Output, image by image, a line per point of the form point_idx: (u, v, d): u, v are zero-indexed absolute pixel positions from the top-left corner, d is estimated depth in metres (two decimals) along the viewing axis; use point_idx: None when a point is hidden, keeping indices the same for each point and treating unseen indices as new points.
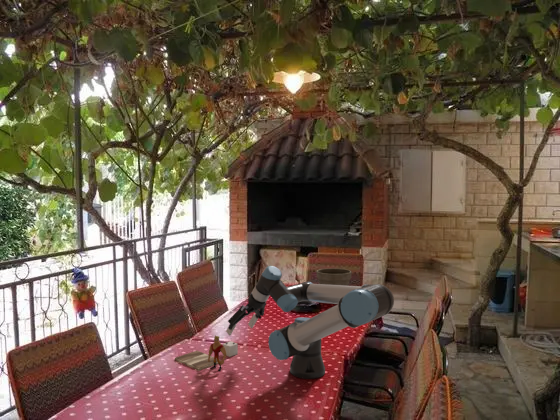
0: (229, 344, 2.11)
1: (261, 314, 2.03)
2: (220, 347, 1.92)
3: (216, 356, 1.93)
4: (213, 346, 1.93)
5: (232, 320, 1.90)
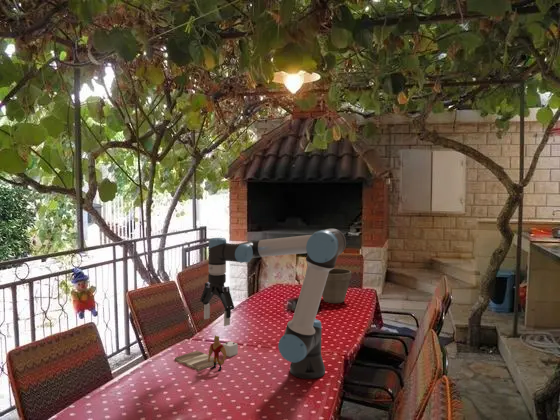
0: (229, 344, 2.11)
1: None
2: (220, 347, 1.92)
3: (216, 356, 1.93)
4: (213, 346, 1.93)
5: (231, 304, 1.87)
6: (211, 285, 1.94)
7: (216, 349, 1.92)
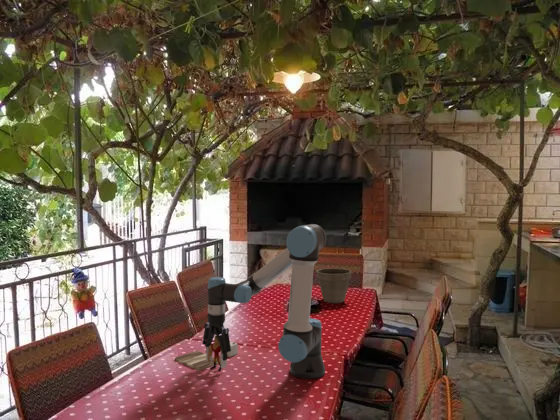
0: None
1: None
2: (220, 347, 1.93)
3: (216, 356, 1.93)
4: (213, 346, 1.93)
5: (228, 347, 1.89)
6: (210, 324, 1.94)
7: (216, 349, 1.92)
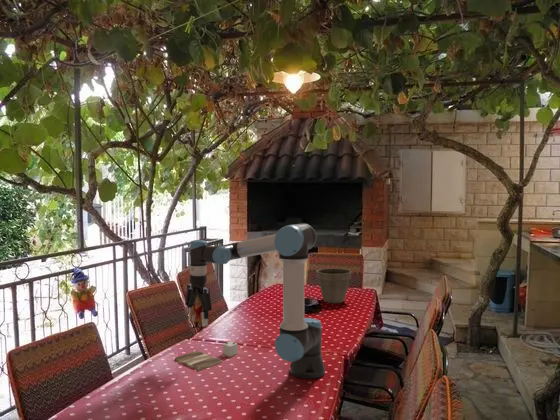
0: (229, 344, 2.11)
1: None
2: (201, 307, 2.00)
3: (198, 316, 2.01)
4: (195, 306, 2.01)
5: (209, 306, 1.97)
6: (192, 285, 2.02)
7: (198, 309, 2.00)
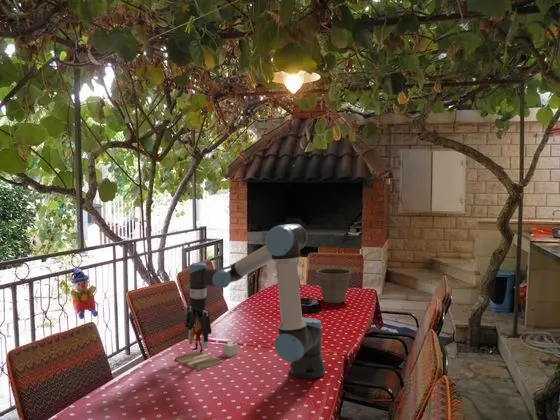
0: (229, 344, 2.11)
1: None
2: (201, 329, 2.01)
3: (198, 338, 2.02)
4: (195, 328, 2.02)
5: (209, 329, 1.97)
6: (192, 308, 2.03)
7: (197, 331, 2.01)
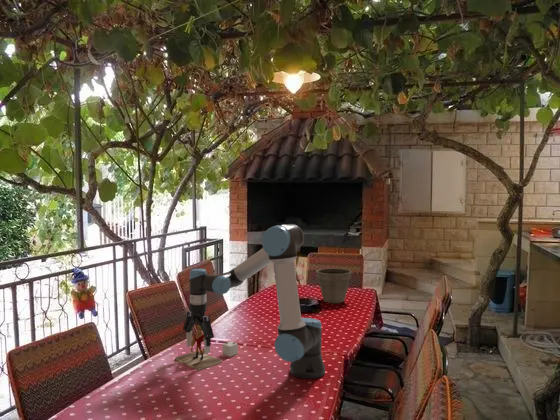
0: (229, 344, 2.11)
1: None
2: (202, 336, 2.02)
3: (198, 345, 2.03)
4: (196, 336, 2.03)
5: (211, 333, 1.96)
6: (192, 314, 2.03)
7: (198, 338, 2.02)
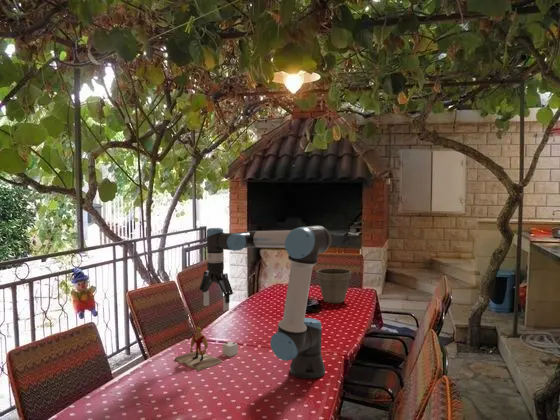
0: (229, 344, 2.11)
1: None
2: (201, 338, 2.01)
3: (198, 347, 2.02)
4: (195, 337, 2.02)
5: (230, 289, 1.98)
6: (210, 273, 2.04)
7: (198, 340, 2.01)
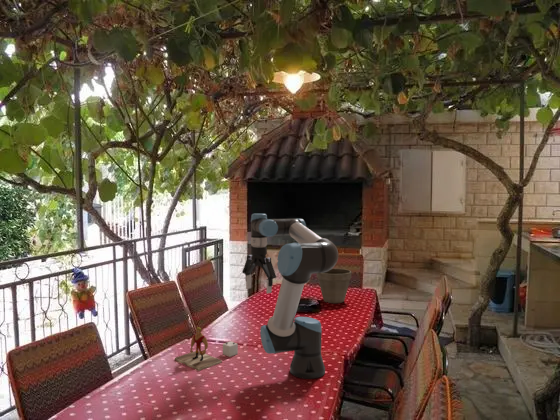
0: (229, 344, 2.11)
1: None
2: (201, 338, 2.01)
3: (198, 346, 2.02)
4: (195, 337, 2.02)
5: (273, 273, 2.04)
6: (253, 257, 2.11)
7: (198, 340, 2.01)
